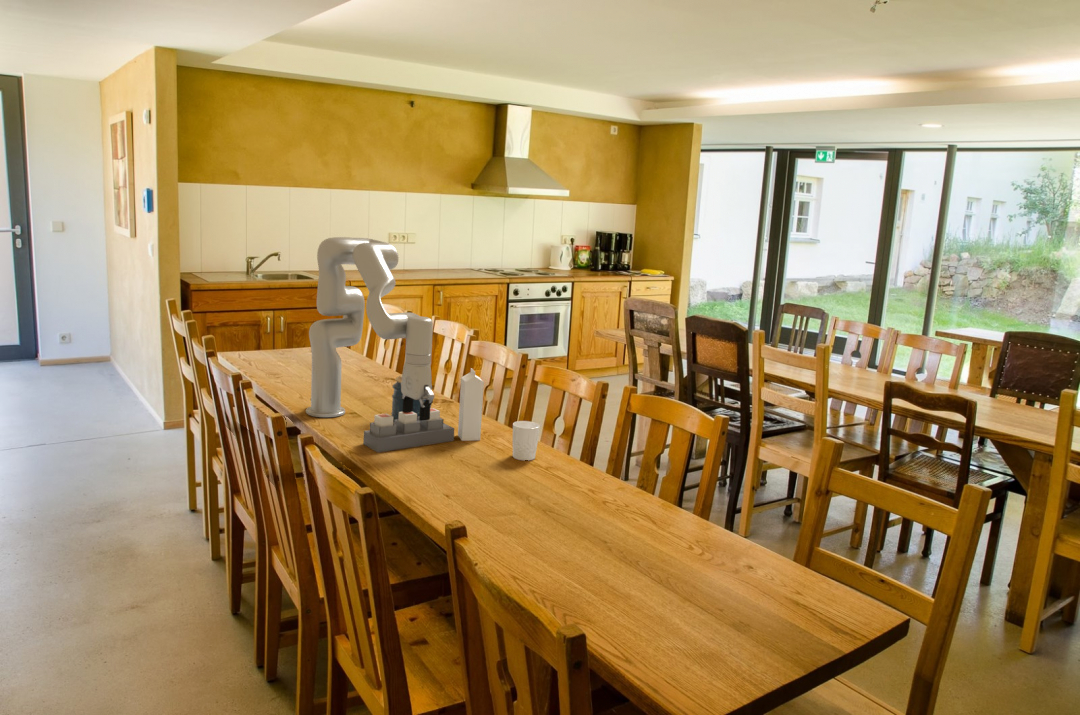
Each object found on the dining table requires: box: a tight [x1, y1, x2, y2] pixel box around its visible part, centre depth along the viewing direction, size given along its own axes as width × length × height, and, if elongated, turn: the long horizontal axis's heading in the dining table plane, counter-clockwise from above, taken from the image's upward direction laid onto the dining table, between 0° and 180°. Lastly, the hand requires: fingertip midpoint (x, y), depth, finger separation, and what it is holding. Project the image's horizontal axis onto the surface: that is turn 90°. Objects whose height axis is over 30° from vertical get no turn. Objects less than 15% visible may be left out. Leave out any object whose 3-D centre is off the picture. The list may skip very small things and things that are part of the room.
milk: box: [457, 367, 485, 442], centre depth 239 cm, size 6×6×22 cm
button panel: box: [362, 417, 455, 453], centre depth 231 cm, size 9×26×7 cm, turn 130°
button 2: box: [398, 412, 417, 424], centre depth 230 cm, size 4×4×3 cm
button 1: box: [373, 413, 394, 427], centre depth 224 cm, size 4×4×3 cm
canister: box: [390, 374, 433, 423], centre depth 253 cm, size 13×13×18 cm
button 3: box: [427, 407, 441, 421], centre depth 235 cm, size 4×4×3 cm
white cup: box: [512, 420, 541, 461], centre depth 225 cm, size 8×8×10 cm
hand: (415, 415), depth 226 cm, fingers open, 9 cm apart
